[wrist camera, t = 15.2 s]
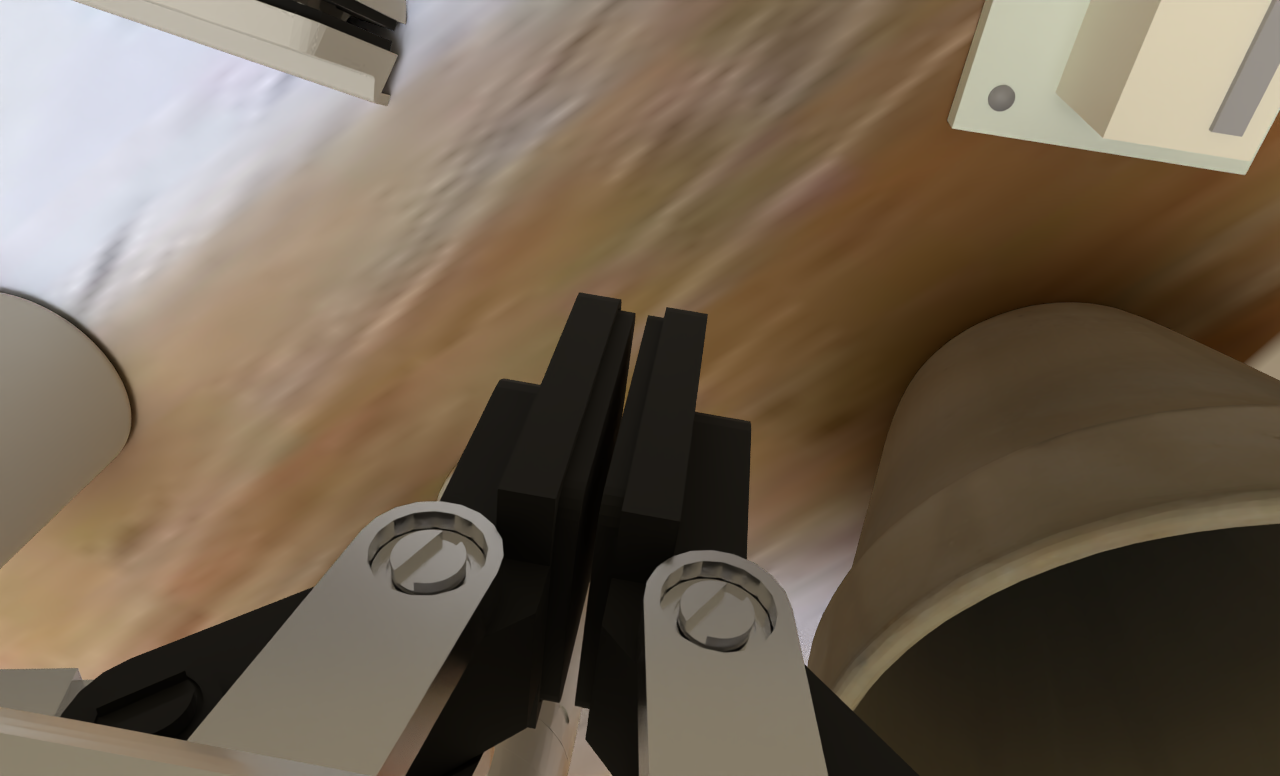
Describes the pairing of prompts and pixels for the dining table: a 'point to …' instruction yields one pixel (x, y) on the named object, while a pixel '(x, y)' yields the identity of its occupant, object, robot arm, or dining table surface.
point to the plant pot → (1070, 558)
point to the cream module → (1178, 73)
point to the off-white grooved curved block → (284, 35)
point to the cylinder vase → (51, 417)
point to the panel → (1042, 84)
